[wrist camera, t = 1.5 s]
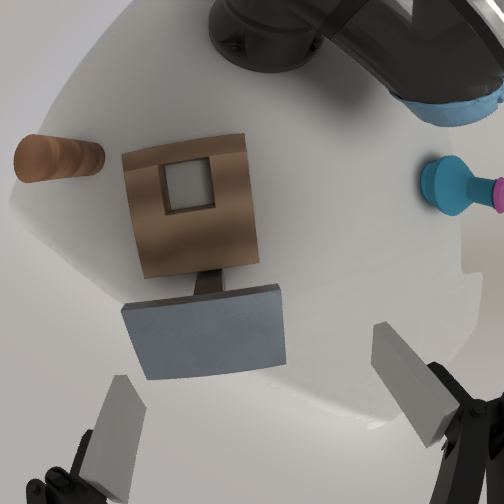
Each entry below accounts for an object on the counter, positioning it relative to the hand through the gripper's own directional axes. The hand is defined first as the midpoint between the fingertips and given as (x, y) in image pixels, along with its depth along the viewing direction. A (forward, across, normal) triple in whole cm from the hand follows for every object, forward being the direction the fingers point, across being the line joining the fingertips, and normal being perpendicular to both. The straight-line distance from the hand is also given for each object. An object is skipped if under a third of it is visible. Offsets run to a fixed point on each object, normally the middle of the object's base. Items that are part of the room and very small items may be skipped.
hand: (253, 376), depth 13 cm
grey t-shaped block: (+24, -4, -2) cm, 25 cm away
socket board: (+24, -4, +6) cm, 26 cm away
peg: (+24, -16, +16) cm, 33 cm away
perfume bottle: (+25, +33, +3) cm, 42 cm away
